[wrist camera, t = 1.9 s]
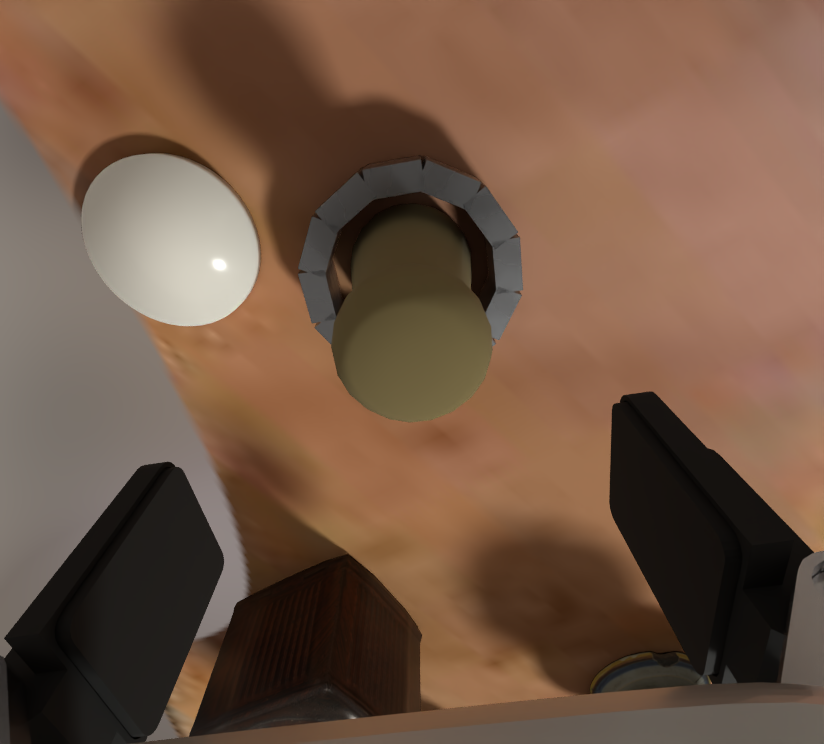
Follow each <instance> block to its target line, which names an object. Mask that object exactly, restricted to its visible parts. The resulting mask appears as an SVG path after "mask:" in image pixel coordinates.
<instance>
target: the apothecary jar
mask: <svg viewBox="0 0 824 744" xmlns="http://www.w3.org/2000/svg"><path fill="white" fill-rule="evenodd" d="M703 684H710V679H709V677H708V675H702V676H701V675H699V674H698V673H697V672H696V671H695V669H694V668H693V666H692V664H691V663H690V661H689V659H688V657H687V655H686V654H684V653H680V652H671V653H667V654H662V655H659V654H655V653H653V652H643V653H638V654H633V655H630V656H626V657H624V658H621V659H619V660H617V661H615V662H613V663H611V664H610V665H608V666H607V667H605V668H604V669H603V670H601V671H600V672H599V673H598V674H597V675H596V676H595V678H594V680H593V681H592V684H591V687H590V694H596V693H607V692H619V691H631V690H643V689H655V688H667V687H679V686H691V685H703Z"/></svg>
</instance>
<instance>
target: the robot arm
mask: <svg viewBox="0 0 824 744" xmlns="http://www.w3.org/2000/svg"><path fill="white" fill-rule="evenodd" d="M609 502H610V509H611V513H612V516H613V519H614V521H615V523H616V524H617V526H618V528H619V530H620V532H621V534H622V536H623V538H624V539H625V541H626V543H627V545H628V547H629V549H630V551H631V552H632V554H633V556H634V558H635V560H636V562H637V564H638V566H639V567H640V569H641V571H642V573H643V575H644V577H645V579H646V580H647V582H648V584H649V586H650V588H651V590H652V592H653V593H654V595H655V597H656V599H657V601H658V603H659V605H660V607H661V608H662V610H663V612H664V614H665V616H666V618H667V620H668V621H669V623H670V625H671V627H672V629H673V631H674V633H675V635H676V636H677V638H678V640H679V642H680V644H681V646H682V648H683V649H684V651H685V653H686V655H687V657H688V659H689V661H690V663H691V664H692V666H693V668H694V669H695V671H696V672H697V673H698V674H699V675H701V676H702V675H708V677H709V679H710V680H711V682H712V684H703V685H691V686H679V687H667V688H655V689H643V690H631V691H619V692H607V693H596V694H586V695H576V696H567V697H557V698H547V699H537V700H527V701H518V702H508V703H498V704H488V705H478V706H469V707H459V708H449V709H439V710H430V711H421V712H411V713H402V714H393V715H383V716H374V717H365V718H355V719H346V720H337V721H328V722H318V723H309V724H300V725H291V726H282V727H272V728H263V729H254V730H245V731H237V732H228V733H219V734H210V735H202V736H193V737H184V738H175V739H167V740H158V741H149V742H145V741H146V739H147V736H149V735H151V734H152V733H153V732H154V731H155V730H156V728H157V726H158V724H159V722H160V720H161V717H162V715H163V713H164V710H165V708H166V705H167V703H168V701H169V698H170V696H171V693H172V691H173V689H174V686H175V684H176V681H177V679H178V676H179V674H180V672H181V669H182V667H183V664H184V662H185V660H186V657H187V655H188V652H189V650H190V648H191V645H192V643H193V640H194V638H195V636H196V633H197V631H198V628H199V626H200V623H201V621H202V619H203V616H204V614H205V611H206V609H207V607H208V604H209V602H210V599H211V597H212V595H213V592H214V590H215V587H216V585H217V583H218V580H219V578H220V575H221V573H222V570H223V565H224V557H223V553H222V551H221V549H220V546H219V545H218V542H217V540H216V538H215V536H214V534H213V532H212V530H211V528H210V526H209V523H208V522H207V519H206V517H205V515H204V513H203V511H202V509H201V507H200V505H199V503H198V501H197V498H196V496H195V494H194V492H193V490H192V488H191V486H190V484H189V482H188V480H187V478H186V475H185V473H184V472H183V470H182V469H181V468H179V467H175V465H174V464H172V463H171V462H163V463H156V464H149V465H144V466H141V467H140V468H138V469H137V471H136V472H135V473H134V474H133V476H132V477H131V478H130V480H129V481H128V482H127V483H126V485H125V486H124V487H123V488H122V490H121V491H120V492H119V493H118V495H117V496H116V497H115V498H114V500H113V501H112V502H111V504H110V505H109V506H108V507H107V509H106V510H105V511H104V512H103V514H102V515H101V516H100V518H99V519H98V520H97V521H96V523H95V524H94V525H93V526H92V528H91V529H90V530H89V531H88V533H87V534H86V535H85V536H84V538H83V539H82V540H81V542H80V543H79V544H78V545H77V547H76V548H75V549H74V550H73V552H72V553H71V554H70V555H69V557H68V558H67V559H66V561H65V562H64V563H63V564H62V566H61V567H60V568H59V569H58V571H57V572H56V573H55V574H54V576H53V577H52V578H51V580H50V581H49V582H48V583H47V585H46V586H45V587H44V589H43V590H42V591H41V592H40V593H39V595H38V596H37V597H36V599H35V600H34V601H33V602H32V604H31V605H30V606H29V607H28V609H27V610H26V611H25V613H24V614H23V615H22V616H21V618H20V619H19V620H18V621H17V623H16V624H15V625H14V627H13V628H12V629H11V630H10V632H9V633H8V634H7V635H6V637H5V638H4V639H5V640H6V641H7V642H8V643H9V644H10V646H11V647H12V649H11V651H10V652H9V653H8V655H7V656H6V657H5V658H4V657H2V656H0V744H824V551H821V552H816V553H814V552H813V551H812V550H811V549H810V548H809V547H808V546H807V545H806V544H805V543H804V542H803V541H802V540H801V538H800V537H799V536H798V535H797V534H796V533H795V532H794V531H793V530H792V529H791V528H790V527H789V526H788V525H787V524H786V523H785V522H784V521H783V520H782V519H781V518H780V517H779V516H778V515H777V514H776V513H775V512H774V511H773V510H772V509H771V508H770V506H769V505H768V504H767V503H766V502H765V501H764V500H763V499H762V498H761V497H760V496H759V495H758V494H757V493H756V492H755V491H754V490H753V489H752V488H751V487H750V486H749V485H748V484H747V483H746V482H745V481H744V480H743V479H742V478H741V477H740V475H739V474H738V473H737V472H736V471H735V470H734V469H733V468H732V467H731V466H730V465H729V464H728V463H727V462H726V461H725V460H724V459H723V458H722V457H721V456H720V455H719V454H718V453H716V452H715V451H714V450H711V449H708V448H707V447H706V446H705V445H704V444H703V443H702V442H701V441H700V440H699V439H698V438H697V437H696V436H695V435H694V434H693V433H692V432H691V431H690V430H689V429H688V427H687V426H686V425H685V424H684V423H683V422H682V421H681V420H680V419H679V418H678V417H677V416H676V415H675V414H674V413H673V412H672V411H671V410H670V409H669V407H668V406H667V405H666V404H665V403H664V402H663V401H662V400H661V399H660V398H659V397H658V396H657V395H656V394H655V393H654V392H643V393H636V394H629V395H623V396H622V397H621V400H620V403H616V404H614V405H613V407H612V430H611V465H610V499H609Z"/></svg>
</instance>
